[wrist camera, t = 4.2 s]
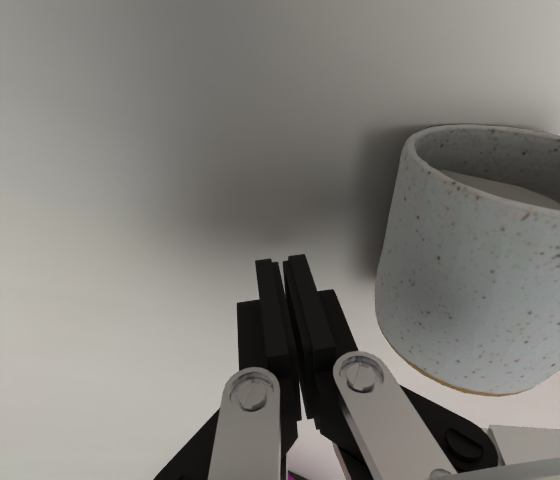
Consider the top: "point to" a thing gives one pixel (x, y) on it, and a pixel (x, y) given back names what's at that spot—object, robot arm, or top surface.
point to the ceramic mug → (474, 258)
